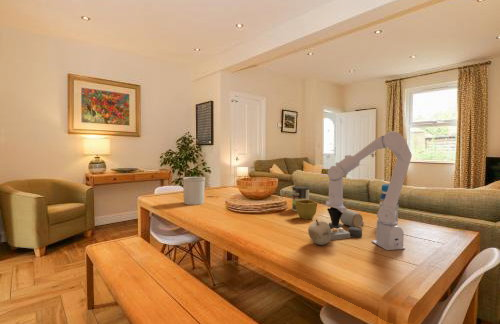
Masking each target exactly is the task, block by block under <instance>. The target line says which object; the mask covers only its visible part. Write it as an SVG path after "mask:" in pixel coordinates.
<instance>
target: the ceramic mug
mask: <svg viewBox="0 0 500 324" xmlns="http://www.w3.org/2000/svg"><path fill="white" fill-rule="evenodd" d="M340 222H341V224H342V225H345V226H347V227H357V228H360V227H361V226H364V224H365V222H364V218H363V216H362V214H361V213H359V212H357V211H353V210H351V209H348V208H346V213H343V214H342V216H341V218H340Z"/></svg>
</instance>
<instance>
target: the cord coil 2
mask: <svg viewBox="0 0 500 324" xmlns="http://www.w3.org/2000/svg"><path fill="white" fill-rule="evenodd" d="M347 232H349V233H350V238H357V239H358V238H362V236H363V229H362V228H360V227H358V228H357V227H351V226H348V228H347Z"/></svg>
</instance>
